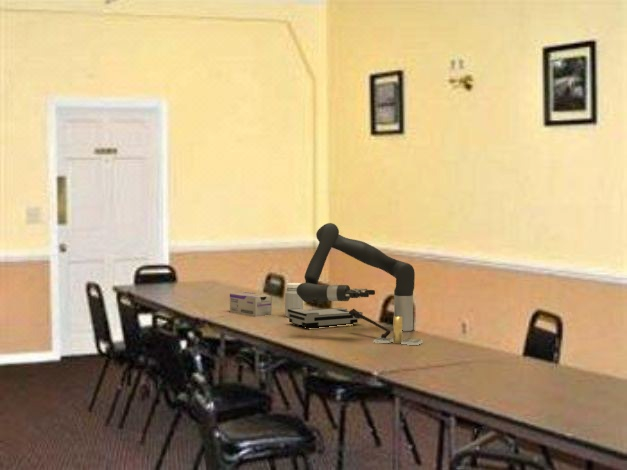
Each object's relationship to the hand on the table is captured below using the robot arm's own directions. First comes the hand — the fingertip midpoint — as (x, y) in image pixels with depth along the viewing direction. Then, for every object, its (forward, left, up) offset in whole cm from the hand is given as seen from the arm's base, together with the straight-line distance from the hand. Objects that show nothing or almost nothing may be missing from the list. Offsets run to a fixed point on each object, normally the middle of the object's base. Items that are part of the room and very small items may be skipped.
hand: (371, 293), depth 444 cm
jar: (-58, -65, -22) cm, 90 cm away
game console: (-37, -38, -22) cm, 58 cm away
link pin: (+3, +13, -22) cm, 26 cm away
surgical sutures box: (-61, -93, -22) cm, 113 cm away
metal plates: (+3, +14, -22) cm, 26 cm away
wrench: (-11, -5, -17) cm, 21 cm away
